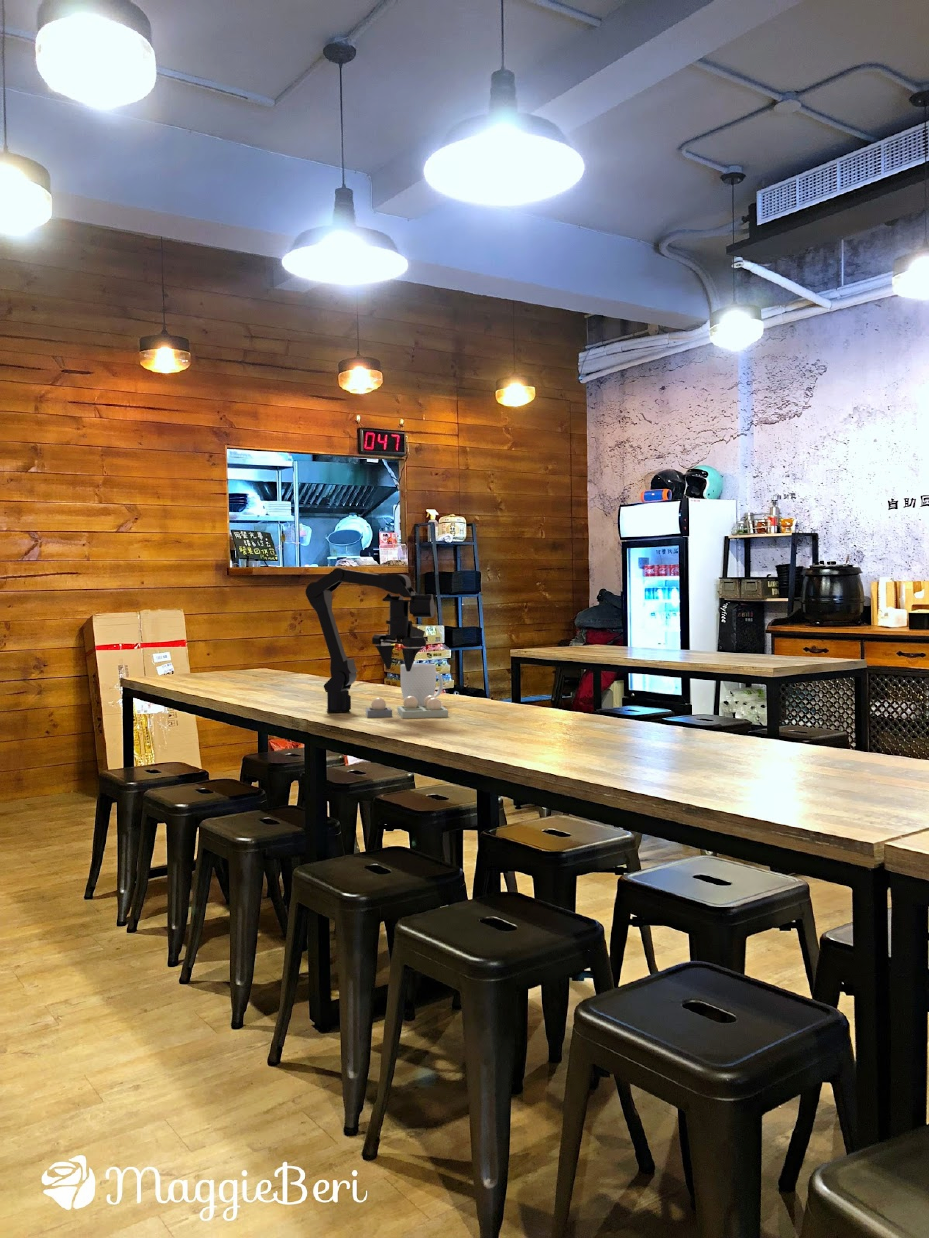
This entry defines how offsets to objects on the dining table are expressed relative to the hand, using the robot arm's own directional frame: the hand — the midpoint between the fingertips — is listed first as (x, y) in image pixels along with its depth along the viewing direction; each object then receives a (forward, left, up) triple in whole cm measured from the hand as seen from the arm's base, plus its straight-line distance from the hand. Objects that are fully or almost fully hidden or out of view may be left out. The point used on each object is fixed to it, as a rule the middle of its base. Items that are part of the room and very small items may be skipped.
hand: (398, 670), depth 279 cm
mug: (+9, +14, -13) cm, 21 cm away
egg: (-6, -5, -9) cm, 12 cm away
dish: (-6, -5, -13) cm, 15 cm away
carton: (+6, -6, -13) cm, 15 cm away
